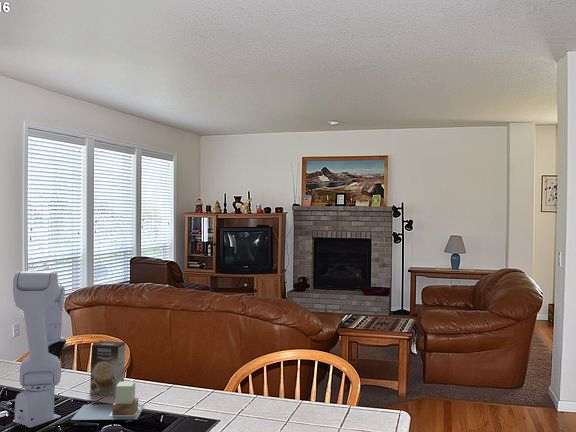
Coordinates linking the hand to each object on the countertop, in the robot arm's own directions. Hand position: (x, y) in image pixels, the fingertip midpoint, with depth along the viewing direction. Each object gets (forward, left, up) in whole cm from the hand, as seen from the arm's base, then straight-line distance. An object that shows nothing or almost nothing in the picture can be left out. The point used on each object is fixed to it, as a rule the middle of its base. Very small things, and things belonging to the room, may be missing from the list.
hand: (50, 367), depth 159 cm
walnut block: (+6, -26, -10) cm, 29 cm away
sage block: (+6, -26, -7) cm, 28 cm away
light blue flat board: (+4, -22, -10) cm, 25 cm away
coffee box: (+16, -7, -11) cm, 20 cm away
